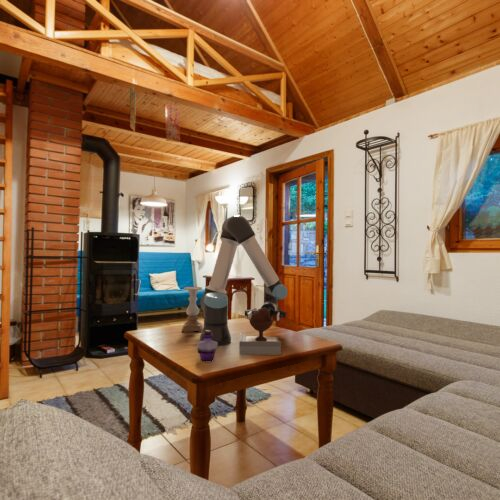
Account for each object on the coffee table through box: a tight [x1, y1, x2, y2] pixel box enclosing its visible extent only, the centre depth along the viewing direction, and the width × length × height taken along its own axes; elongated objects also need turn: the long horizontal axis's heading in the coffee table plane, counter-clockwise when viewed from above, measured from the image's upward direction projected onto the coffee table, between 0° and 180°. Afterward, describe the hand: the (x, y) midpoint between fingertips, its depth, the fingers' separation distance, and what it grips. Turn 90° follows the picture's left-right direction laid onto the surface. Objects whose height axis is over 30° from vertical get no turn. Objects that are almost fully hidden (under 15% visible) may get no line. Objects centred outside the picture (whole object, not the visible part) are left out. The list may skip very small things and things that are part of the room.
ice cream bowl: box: [248, 308, 274, 341], centre depth 160 cm, size 11×11×15 cm
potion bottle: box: [196, 330, 218, 362], centre depth 142 cm, size 9×9×12 cm
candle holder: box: [181, 286, 203, 333], centre depth 195 cm, size 11×11×24 cm
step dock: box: [238, 331, 282, 356], centre depth 159 cm, size 18×18×6 cm
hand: (263, 317), depth 161 cm, fingers open, 13 cm apart
